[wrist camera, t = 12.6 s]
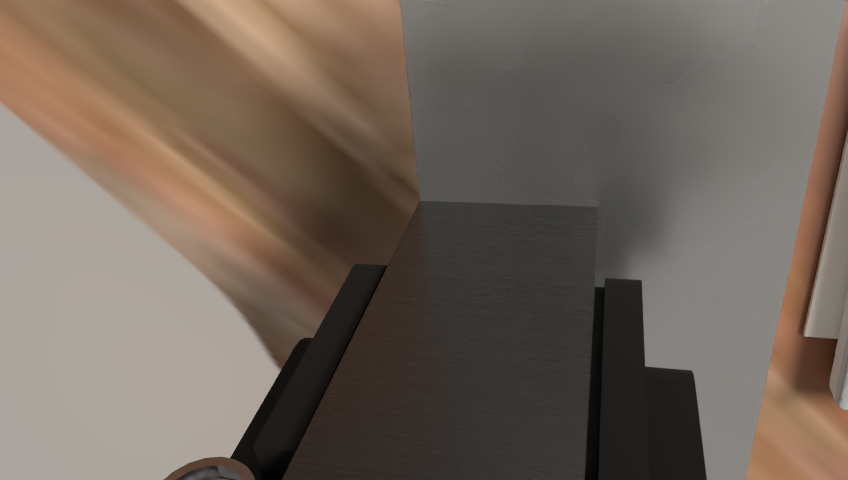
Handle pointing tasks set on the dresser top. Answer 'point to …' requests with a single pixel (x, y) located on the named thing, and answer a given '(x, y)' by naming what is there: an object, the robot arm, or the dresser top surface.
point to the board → (832, 265)
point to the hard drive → (841, 365)
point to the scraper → (579, 228)
